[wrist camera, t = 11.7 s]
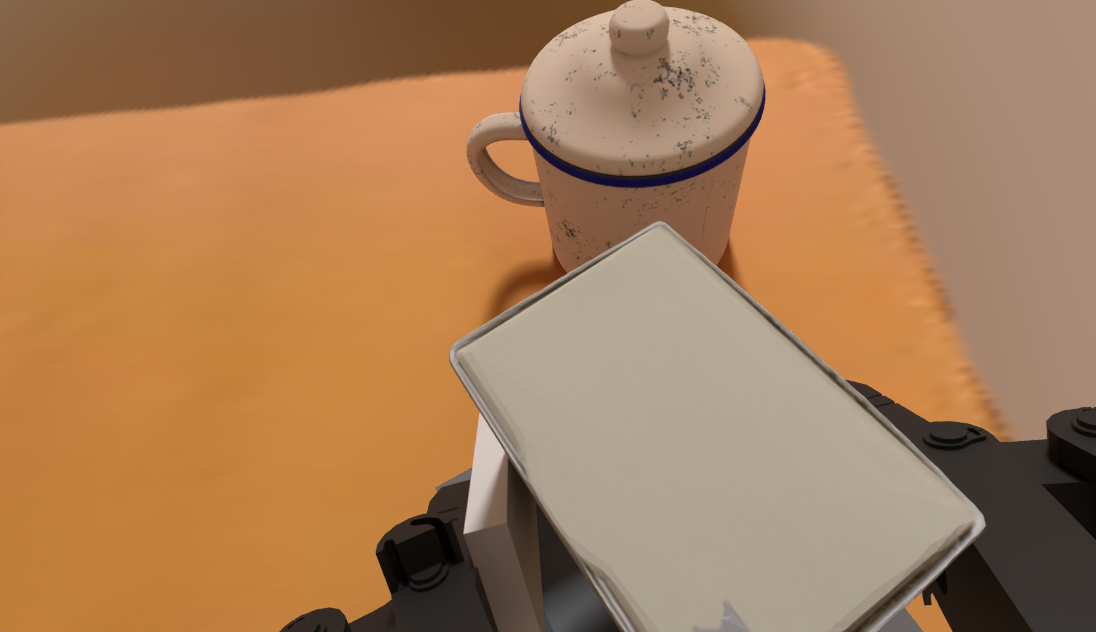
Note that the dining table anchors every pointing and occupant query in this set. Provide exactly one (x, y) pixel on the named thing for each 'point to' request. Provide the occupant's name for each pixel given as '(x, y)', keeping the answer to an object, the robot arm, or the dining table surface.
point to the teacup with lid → (632, 130)
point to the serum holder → (569, 600)
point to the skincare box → (707, 452)
